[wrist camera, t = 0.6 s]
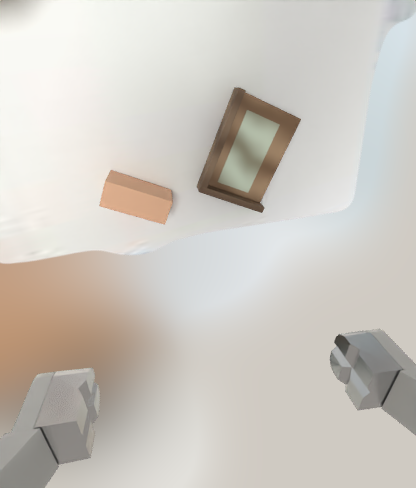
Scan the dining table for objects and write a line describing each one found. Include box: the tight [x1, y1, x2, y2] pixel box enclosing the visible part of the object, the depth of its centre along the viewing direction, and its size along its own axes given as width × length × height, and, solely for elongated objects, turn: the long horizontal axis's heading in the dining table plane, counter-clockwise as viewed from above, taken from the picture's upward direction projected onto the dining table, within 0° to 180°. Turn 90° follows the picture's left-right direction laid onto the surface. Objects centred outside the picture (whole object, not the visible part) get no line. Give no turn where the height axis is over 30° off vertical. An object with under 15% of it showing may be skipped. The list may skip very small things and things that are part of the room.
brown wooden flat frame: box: [197, 88, 301, 213], centre depth 46 cm, size 16×12×3 cm
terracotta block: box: [99, 170, 173, 225], centre depth 44 cm, size 4×10×6 cm, turn 68°
